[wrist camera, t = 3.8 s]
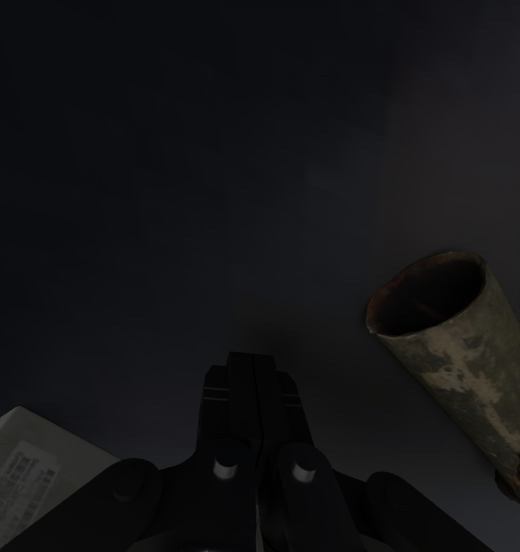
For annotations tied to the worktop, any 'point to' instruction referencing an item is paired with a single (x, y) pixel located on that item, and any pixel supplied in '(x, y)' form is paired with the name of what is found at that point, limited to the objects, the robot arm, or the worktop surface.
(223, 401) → the robot arm
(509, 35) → the worktop surface
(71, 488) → the geiger counter
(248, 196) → the worktop surface
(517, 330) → the cylinder with dark lump
